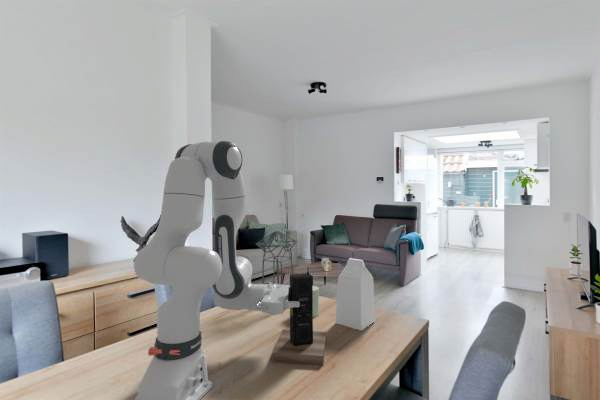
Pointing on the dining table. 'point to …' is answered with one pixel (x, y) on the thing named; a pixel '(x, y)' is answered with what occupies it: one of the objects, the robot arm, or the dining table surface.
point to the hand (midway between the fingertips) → (301, 299)
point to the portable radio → (301, 309)
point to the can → (315, 301)
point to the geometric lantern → (278, 254)
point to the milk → (355, 296)
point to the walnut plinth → (300, 350)
